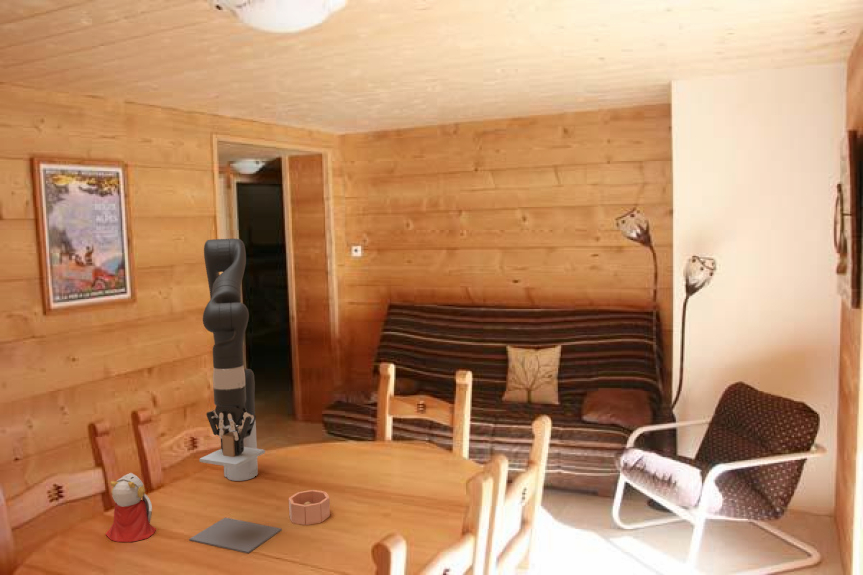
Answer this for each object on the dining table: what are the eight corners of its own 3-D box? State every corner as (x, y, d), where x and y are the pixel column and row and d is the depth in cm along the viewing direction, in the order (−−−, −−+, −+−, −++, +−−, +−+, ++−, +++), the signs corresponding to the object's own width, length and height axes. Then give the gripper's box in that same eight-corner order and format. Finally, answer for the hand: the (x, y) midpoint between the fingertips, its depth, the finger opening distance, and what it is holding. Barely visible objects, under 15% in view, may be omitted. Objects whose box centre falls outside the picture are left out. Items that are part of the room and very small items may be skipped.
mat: (189, 540, 166) (189, 538, 166) (225, 518, 178) (225, 517, 178) (248, 553, 159) (248, 551, 159) (281, 530, 171) (281, 528, 171)
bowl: (282, 520, 176) (281, 502, 175) (304, 505, 185) (303, 488, 185) (315, 527, 172) (314, 508, 171) (336, 511, 181) (335, 493, 181)
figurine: (169, 526, 174) (166, 470, 173) (134, 546, 164) (130, 486, 162) (132, 518, 179) (129, 463, 178) (95, 537, 169) (91, 479, 168)
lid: (199, 461, 164) (198, 438, 163) (229, 447, 174) (228, 425, 173) (235, 467, 159) (234, 443, 159) (265, 452, 169) (264, 430, 169)
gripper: (195, 385, 164) (199, 454, 166) (242, 390, 159) (246, 461, 160) (217, 378, 171) (220, 445, 173) (262, 383, 165) (265, 451, 167)
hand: (232, 452), depth 166 cm, fingers closed on lid, 3 cm apart
